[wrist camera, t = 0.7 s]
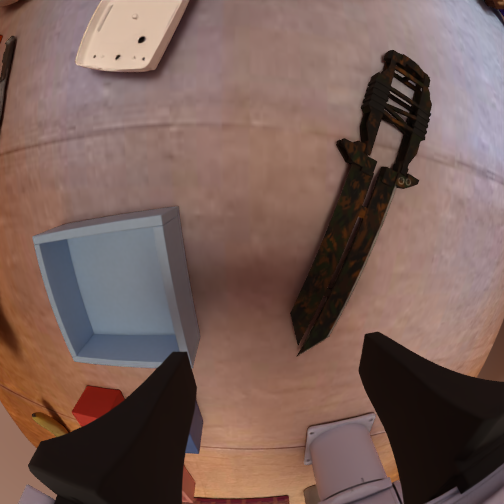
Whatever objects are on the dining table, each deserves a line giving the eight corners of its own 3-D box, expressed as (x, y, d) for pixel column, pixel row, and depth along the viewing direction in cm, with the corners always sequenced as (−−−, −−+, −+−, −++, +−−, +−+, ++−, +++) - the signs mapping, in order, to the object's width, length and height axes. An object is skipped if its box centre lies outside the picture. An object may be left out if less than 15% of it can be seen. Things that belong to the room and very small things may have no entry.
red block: (134, 416, 24) (123, 445, 19) (102, 411, 24) (90, 438, 19) (120, 389, 22) (105, 419, 18) (87, 385, 22) (71, 412, 18)
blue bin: (200, 336, 20) (192, 368, 17) (93, 336, 20) (74, 361, 17) (178, 205, 18) (161, 214, 14) (62, 224, 18) (31, 236, 14)
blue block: (203, 421, 24) (199, 454, 19) (163, 419, 24) (155, 450, 19) (194, 394, 22) (187, 429, 18) (151, 392, 22) (139, 425, 18)
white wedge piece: (202, -33, 9) (209, -14, 12) (119, -30, 9) (133, -15, 11) (148, 73, 12) (164, 82, 15) (69, 68, 12) (90, 74, 14)
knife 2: (310, 355, 21) (314, 365, 20) (240, 331, 20) (240, 341, 19) (439, 93, 15) (449, 90, 14) (379, 46, 14) (387, 39, 13)
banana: (39, 396, 24) (26, 414, 20) (50, 400, 24) (37, 419, 20) (69, 440, 26) (61, 457, 23) (80, 443, 26) (72, 461, 23)
